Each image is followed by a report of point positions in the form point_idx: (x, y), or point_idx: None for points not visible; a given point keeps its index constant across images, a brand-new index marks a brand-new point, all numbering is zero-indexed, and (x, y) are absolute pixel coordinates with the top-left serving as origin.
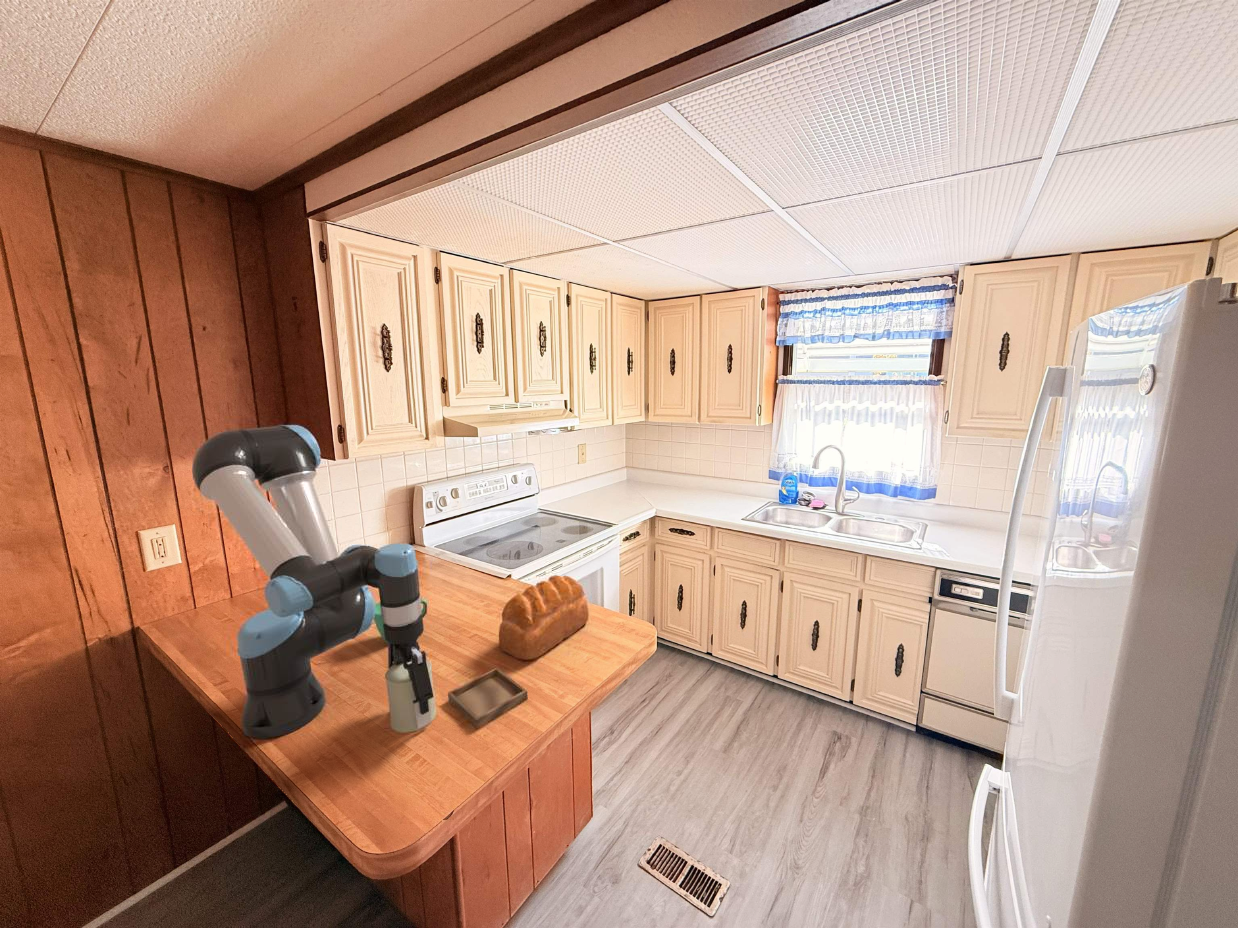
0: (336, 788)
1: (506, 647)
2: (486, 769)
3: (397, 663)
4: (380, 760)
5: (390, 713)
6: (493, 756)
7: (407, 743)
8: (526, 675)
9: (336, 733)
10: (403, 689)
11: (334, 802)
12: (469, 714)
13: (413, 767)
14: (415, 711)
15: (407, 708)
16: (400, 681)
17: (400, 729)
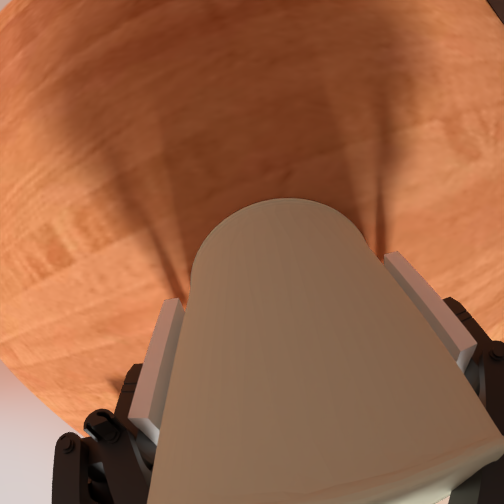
0: (52, 7)
1: None
2: (12, 361)
3: (474, 487)
4: (88, 136)
5: (296, 227)
6: (39, 382)
7: (132, 241)
8: None
9: (381, 2)
10: (153, 470)
11: (11, 22)
12: None
13: (26, 241)
14: (159, 355)
15: (178, 343)
16: None
17: (214, 234)
